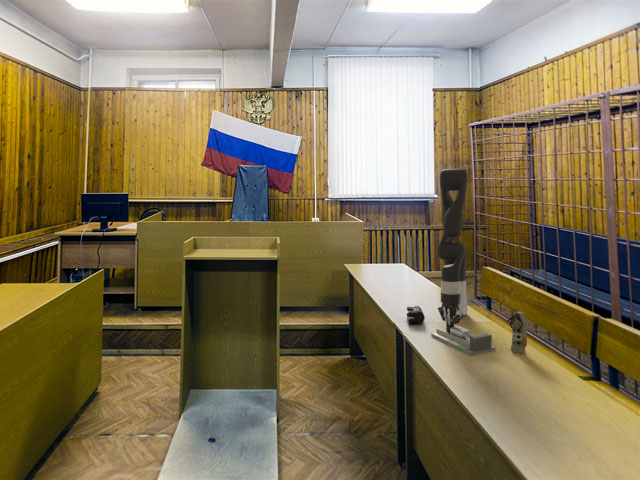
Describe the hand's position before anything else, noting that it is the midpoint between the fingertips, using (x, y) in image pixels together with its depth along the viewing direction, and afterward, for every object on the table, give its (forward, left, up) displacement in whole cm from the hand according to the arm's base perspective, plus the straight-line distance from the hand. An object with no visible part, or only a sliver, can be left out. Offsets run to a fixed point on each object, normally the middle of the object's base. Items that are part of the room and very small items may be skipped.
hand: (449, 332), depth 152 cm
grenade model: (-11, +23, -2) cm, 25 cm away
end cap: (+1, -22, -2) cm, 23 cm away
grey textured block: (0, +6, -1) cm, 6 cm away
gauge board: (0, +7, -2) cm, 7 cm away
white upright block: (0, +13, -1) cm, 13 cm away
